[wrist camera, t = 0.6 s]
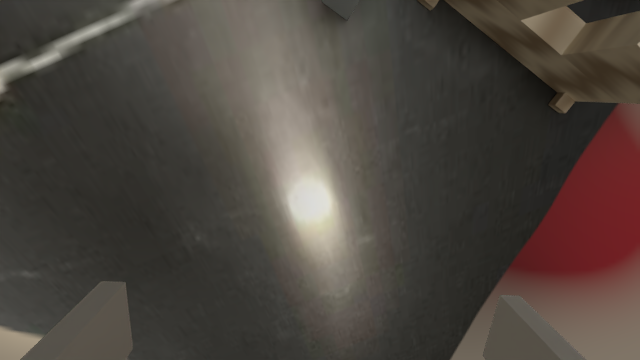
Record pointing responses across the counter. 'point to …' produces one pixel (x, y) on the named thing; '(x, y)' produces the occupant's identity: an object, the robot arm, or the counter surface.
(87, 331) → the robot arm
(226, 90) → the counter surface
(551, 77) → the slotted stand
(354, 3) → the slotted plate
